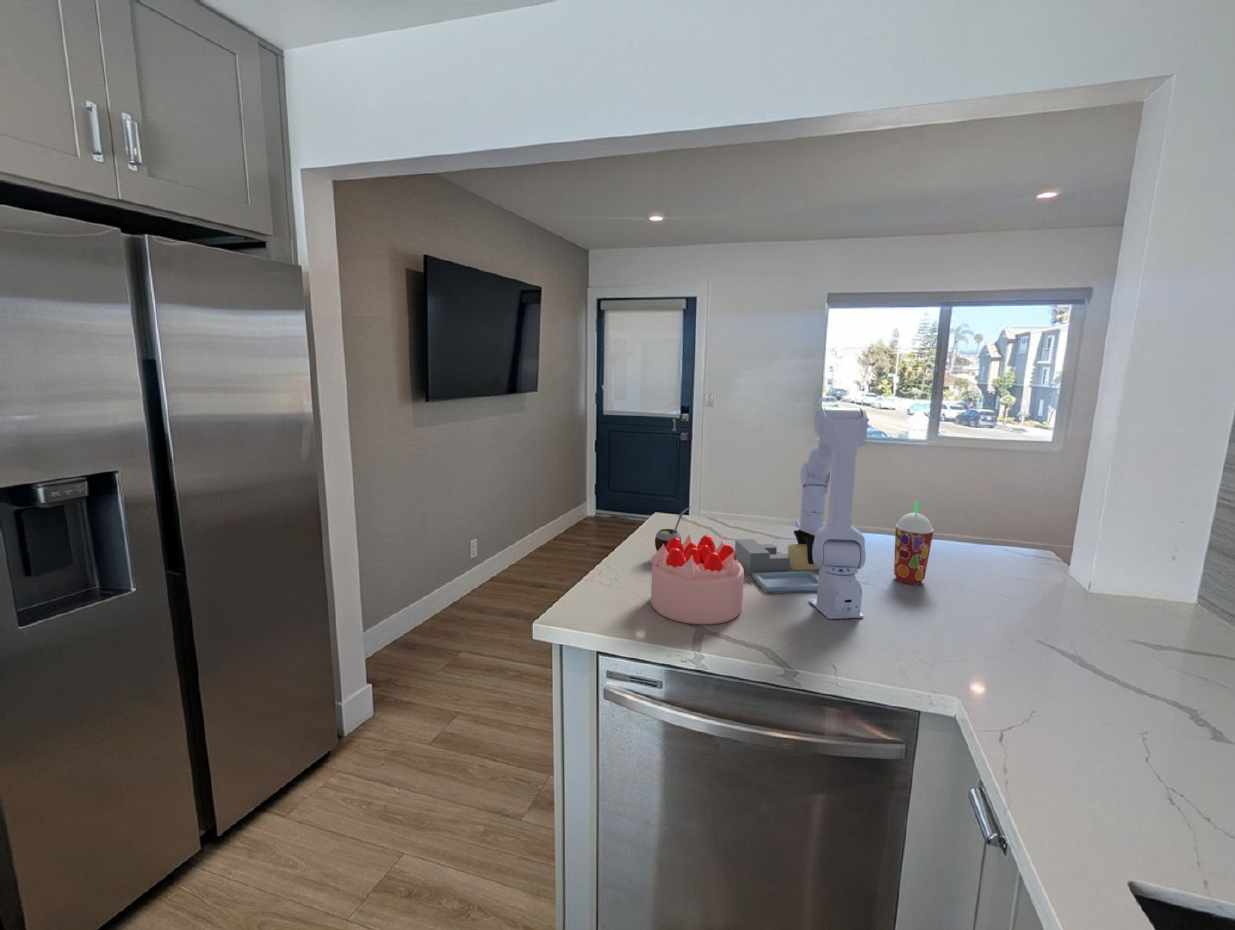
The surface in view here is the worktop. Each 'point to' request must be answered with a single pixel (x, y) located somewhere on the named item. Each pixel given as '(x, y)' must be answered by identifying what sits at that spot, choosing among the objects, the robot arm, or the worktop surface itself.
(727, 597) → the cake
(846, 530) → the robot arm
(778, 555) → the dock
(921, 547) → the smoothie
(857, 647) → the worktop surface
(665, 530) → the mate gourd
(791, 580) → the tray
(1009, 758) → the worktop surface
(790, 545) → the tan block with handle
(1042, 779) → the worktop surface
